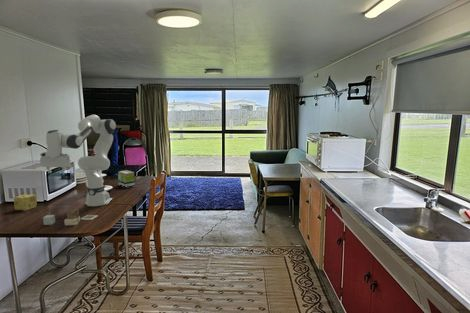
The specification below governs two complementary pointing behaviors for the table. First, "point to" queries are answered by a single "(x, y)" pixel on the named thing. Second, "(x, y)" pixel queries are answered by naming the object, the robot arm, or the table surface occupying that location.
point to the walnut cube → (72, 213)
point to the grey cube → (49, 219)
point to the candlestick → (103, 181)
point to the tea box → (126, 178)
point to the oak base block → (72, 221)
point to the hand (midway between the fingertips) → (56, 173)
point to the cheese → (25, 202)
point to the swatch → (89, 217)
